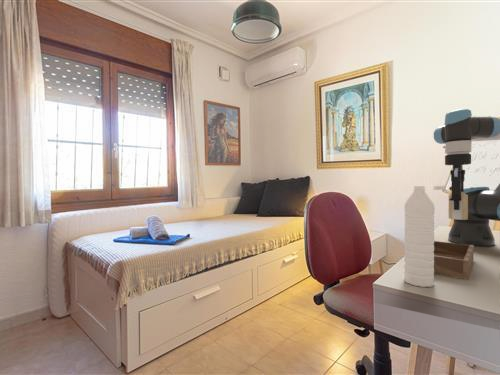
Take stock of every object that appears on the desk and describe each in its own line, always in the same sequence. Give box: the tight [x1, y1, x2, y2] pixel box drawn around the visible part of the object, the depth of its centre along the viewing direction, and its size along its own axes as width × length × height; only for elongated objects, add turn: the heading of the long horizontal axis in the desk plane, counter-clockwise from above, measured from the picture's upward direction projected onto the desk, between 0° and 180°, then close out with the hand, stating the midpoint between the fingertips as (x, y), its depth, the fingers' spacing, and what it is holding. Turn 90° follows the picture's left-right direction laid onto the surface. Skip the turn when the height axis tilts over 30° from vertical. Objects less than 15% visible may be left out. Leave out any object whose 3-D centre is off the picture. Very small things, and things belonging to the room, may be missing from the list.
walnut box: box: [433, 240, 475, 281], centre depth 83 cm, size 23×12×5 cm, turn 137°
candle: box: [448, 192, 468, 220], centre depth 97 cm, size 6×6×10 cm
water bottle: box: [403, 185, 447, 288], centre depth 68 cm, size 9×6×25 cm
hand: (457, 217), depth 97 cm, fingers closed on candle, 5 cm apart
